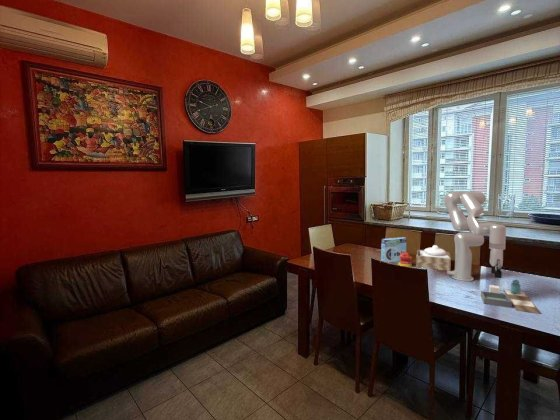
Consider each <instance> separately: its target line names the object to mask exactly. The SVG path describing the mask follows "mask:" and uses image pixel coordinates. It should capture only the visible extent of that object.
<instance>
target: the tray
mask: <svg viewBox="0 0 560 420" xmlns="http://www.w3.org/2000/svg"><path fill="white" fill-rule="evenodd" d="M480 298H481V301H482V302H483V304H484V305H489V306H497V307H498V306H499V307H503V308H509V309H510V308H511V309H512V305H513V304H512V302H511V300H510V299H509V297H508V295H507V294H506V293H501V292H500V293H493V292H489V291H483V290H481V291H480Z"/></svg>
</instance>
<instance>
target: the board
mask: <svg viewBox="0 0 560 420" xmlns="http://www.w3.org/2000/svg"><path fill="white" fill-rule="evenodd" d="M503 292H504V294H507V295H508V297H509V299H510V300H511V302H512V305H513V307H514V309H515V310H516V311H518V312H525V313H531V314H539V315H542V312H541V311H540V309H538V307H537V306H536V305H535V304H534V302H533V301H532V300H531V299H530V297H529V296H528V295H527V293H525V292H524V291H520V294H513V293H511V289H503Z"/></svg>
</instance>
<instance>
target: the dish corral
mask: <svg viewBox="0 0 560 420" xmlns="http://www.w3.org/2000/svg"><path fill="white" fill-rule="evenodd" d="M424 250H425V249H417V250H416V254H415V255H416V256H415V268H418V267H423V268H422V269H427V268H429V270H437V269H438V271H451V263H452V262H451V260H452V258H451V254H450V252H449V251H445V252H446V254H447V255H448V256H449V258H438V257H427V256H420V251H424Z"/></svg>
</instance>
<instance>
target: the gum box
mask: <svg viewBox="0 0 560 420" xmlns="http://www.w3.org/2000/svg"><path fill="white" fill-rule="evenodd" d="M407 241H408V240H407V237H405V236H399V237H389V238H381V241H380V243H381V244H380V245H381V246H380V248H381V249H380V250H381V251H380V262H381V261H384V262H388V263H393V264H397V265H398V263H399V261H400V260H401V259H400V254H401V253H404V252H405V253H407Z"/></svg>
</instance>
